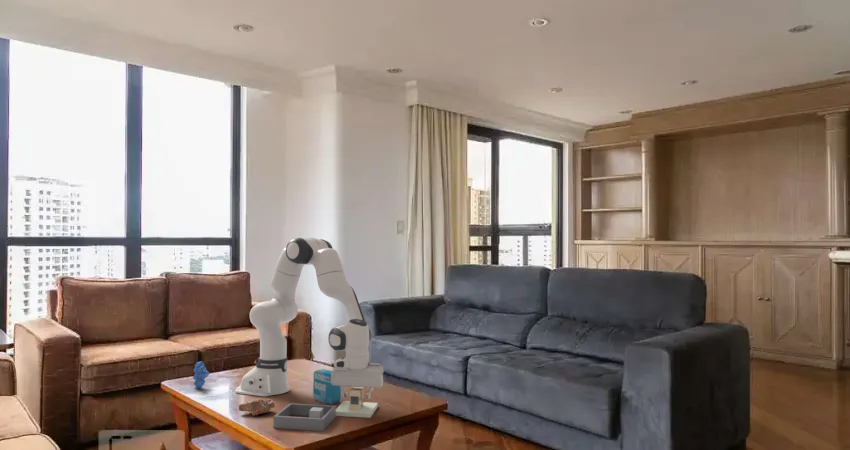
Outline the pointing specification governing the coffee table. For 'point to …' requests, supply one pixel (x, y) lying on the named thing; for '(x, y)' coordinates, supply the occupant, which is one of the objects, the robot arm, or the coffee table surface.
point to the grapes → (200, 374)
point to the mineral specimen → (257, 406)
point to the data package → (325, 387)
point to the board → (365, 410)
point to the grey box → (316, 412)
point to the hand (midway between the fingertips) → (356, 397)
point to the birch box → (356, 398)
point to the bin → (303, 423)
